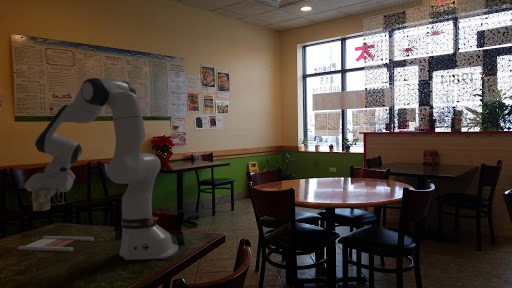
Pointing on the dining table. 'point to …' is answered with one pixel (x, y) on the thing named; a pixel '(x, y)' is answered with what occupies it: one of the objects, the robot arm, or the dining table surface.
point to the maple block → (40, 200)
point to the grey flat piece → (53, 243)
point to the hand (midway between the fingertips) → (40, 198)
